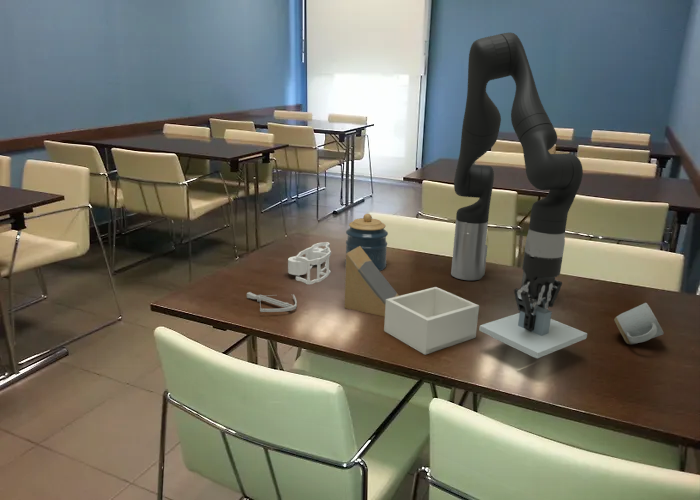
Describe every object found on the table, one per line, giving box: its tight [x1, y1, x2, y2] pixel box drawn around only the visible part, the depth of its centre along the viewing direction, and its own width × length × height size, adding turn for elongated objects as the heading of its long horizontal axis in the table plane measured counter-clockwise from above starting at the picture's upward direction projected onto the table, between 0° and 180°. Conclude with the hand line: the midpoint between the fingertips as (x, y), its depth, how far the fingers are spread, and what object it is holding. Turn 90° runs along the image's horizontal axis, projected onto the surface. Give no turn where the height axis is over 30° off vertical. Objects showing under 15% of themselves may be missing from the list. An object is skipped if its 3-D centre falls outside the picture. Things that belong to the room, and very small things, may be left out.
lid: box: [478, 303, 588, 359], centre depth 117 cm, size 17×15×7 cm
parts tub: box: [383, 286, 480, 356], centre depth 126 cm, size 16×14×8 cm
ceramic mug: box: [613, 302, 664, 345], centre depth 123 cm, size 11×8×8 cm
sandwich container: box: [344, 246, 400, 317], centre depth 139 cm, size 9×15×15 cm, turn 65°
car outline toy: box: [287, 241, 332, 285], centre depth 165 cm, size 20×11×7 cm, turn 156°
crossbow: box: [246, 291, 298, 313], centre depth 142 cm, size 16×13×2 cm
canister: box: [344, 213, 389, 272], centre depth 169 cm, size 13×13×18 cm
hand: (533, 327), depth 117 cm, fingers closed on lid, 2 cm apart
